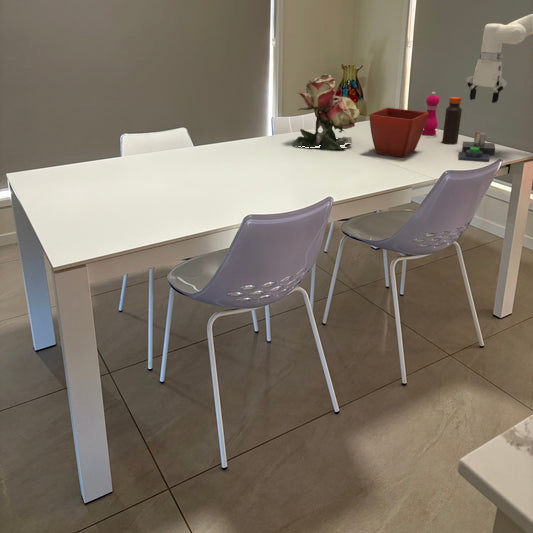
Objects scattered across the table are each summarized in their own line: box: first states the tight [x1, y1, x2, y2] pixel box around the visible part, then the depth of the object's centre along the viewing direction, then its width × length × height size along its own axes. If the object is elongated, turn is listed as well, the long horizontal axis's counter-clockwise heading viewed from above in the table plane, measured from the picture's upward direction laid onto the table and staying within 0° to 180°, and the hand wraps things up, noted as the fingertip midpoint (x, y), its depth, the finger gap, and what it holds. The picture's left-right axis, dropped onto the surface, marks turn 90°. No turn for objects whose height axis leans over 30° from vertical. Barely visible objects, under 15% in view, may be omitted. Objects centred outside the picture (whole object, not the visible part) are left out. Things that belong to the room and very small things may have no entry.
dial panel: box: [461, 141, 496, 156], centre depth 254 cm, size 13×10×3 cm
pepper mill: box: [421, 91, 440, 137], centre depth 281 cm, size 7×7×20 cm
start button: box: [470, 147, 479, 153], centre depth 243 cm, size 4×4×2 cm
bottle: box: [441, 96, 463, 145], centre depth 265 cm, size 7×7×20 cm
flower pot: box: [369, 107, 428, 158], centre depth 250 cm, size 19×19×17 cm
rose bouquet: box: [292, 73, 361, 150], centre depth 264 cm, size 26×29×30 cm
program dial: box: [473, 131, 487, 146], centre depth 252 cm, size 4×4×5 cm
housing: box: [457, 150, 490, 163], centre depth 244 cm, size 12×9×3 cm
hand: (483, 100), depth 242 cm, fingers open, 9 cm apart
